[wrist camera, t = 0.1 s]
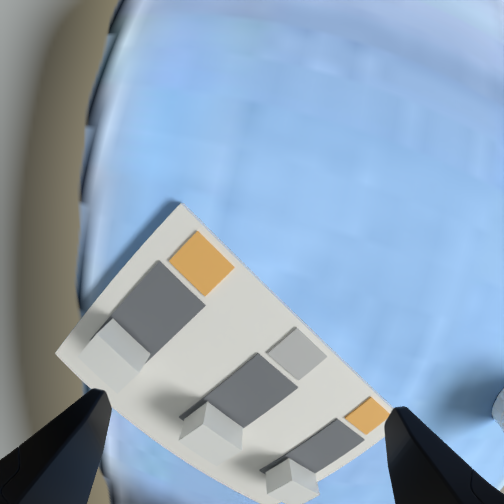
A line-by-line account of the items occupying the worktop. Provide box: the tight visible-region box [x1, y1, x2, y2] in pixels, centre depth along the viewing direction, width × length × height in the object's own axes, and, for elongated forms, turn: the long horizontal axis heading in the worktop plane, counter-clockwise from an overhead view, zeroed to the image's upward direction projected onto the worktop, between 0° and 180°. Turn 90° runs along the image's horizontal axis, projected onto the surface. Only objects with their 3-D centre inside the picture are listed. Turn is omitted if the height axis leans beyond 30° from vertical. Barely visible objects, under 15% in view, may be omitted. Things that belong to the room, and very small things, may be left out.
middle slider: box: [178, 401, 243, 466], centre depth 23 cm, size 3×4×3 cm
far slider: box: [266, 458, 320, 504], centre depth 24 cm, size 3×4×3 cm
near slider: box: [78, 319, 150, 394], centre depth 22 cm, size 3×4×3 cm
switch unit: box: [55, 203, 393, 504], centre depth 25 cm, size 18×28×1 cm, turn 45°
